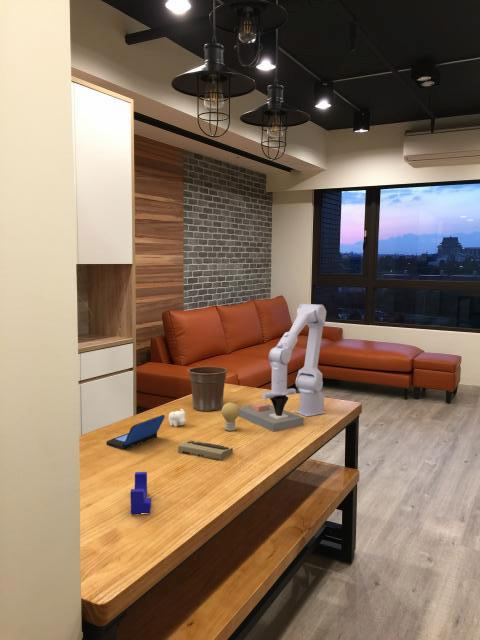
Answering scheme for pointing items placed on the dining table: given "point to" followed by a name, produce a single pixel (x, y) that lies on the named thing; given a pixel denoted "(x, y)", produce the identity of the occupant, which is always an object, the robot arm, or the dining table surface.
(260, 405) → the terracotta key
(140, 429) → the handheld game console
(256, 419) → the key console
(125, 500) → the dining table surface
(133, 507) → the blue stepped block
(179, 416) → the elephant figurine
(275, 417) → the white key
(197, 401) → the plant pot
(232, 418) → the light bulb
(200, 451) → the computer
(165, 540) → the dining table surface
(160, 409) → the dining table surface
